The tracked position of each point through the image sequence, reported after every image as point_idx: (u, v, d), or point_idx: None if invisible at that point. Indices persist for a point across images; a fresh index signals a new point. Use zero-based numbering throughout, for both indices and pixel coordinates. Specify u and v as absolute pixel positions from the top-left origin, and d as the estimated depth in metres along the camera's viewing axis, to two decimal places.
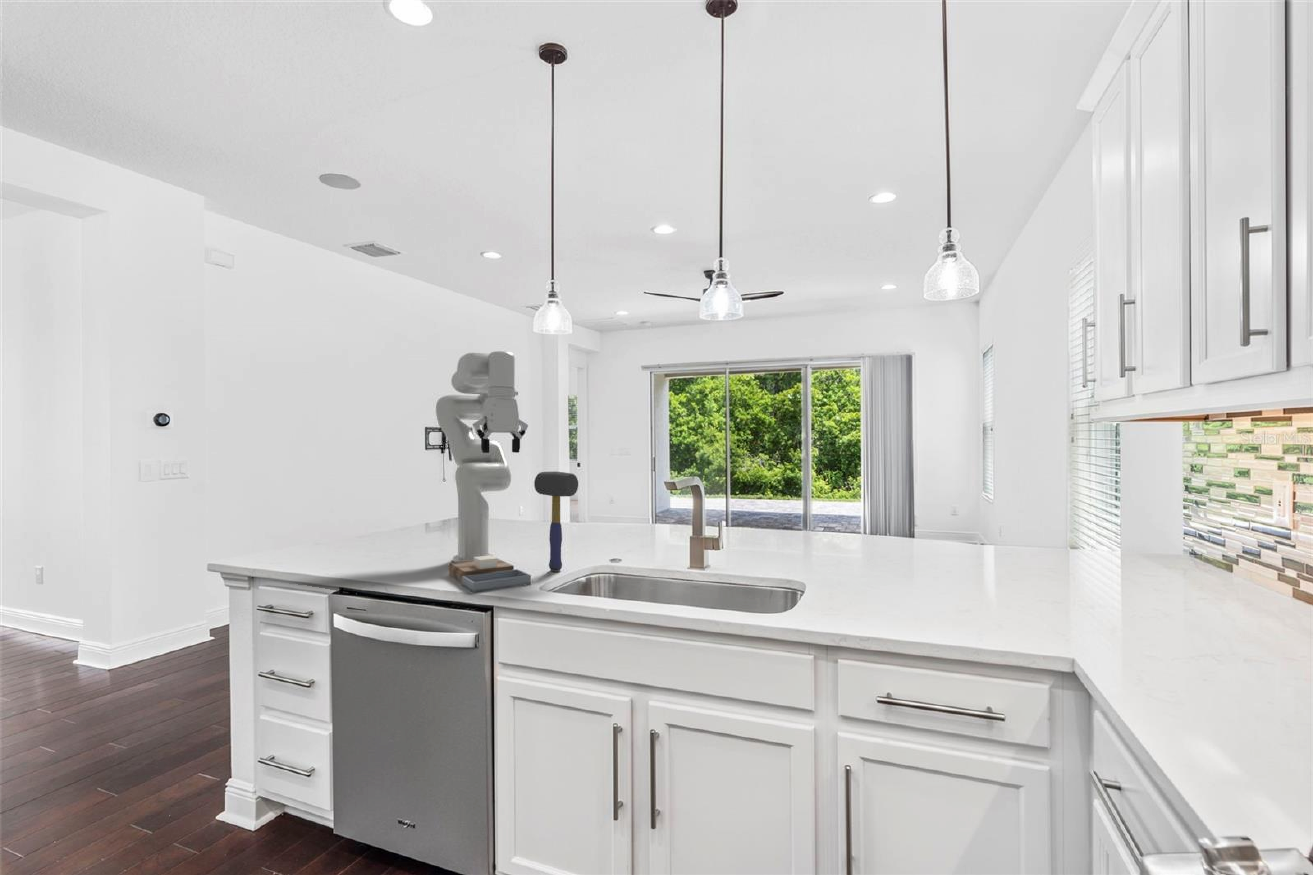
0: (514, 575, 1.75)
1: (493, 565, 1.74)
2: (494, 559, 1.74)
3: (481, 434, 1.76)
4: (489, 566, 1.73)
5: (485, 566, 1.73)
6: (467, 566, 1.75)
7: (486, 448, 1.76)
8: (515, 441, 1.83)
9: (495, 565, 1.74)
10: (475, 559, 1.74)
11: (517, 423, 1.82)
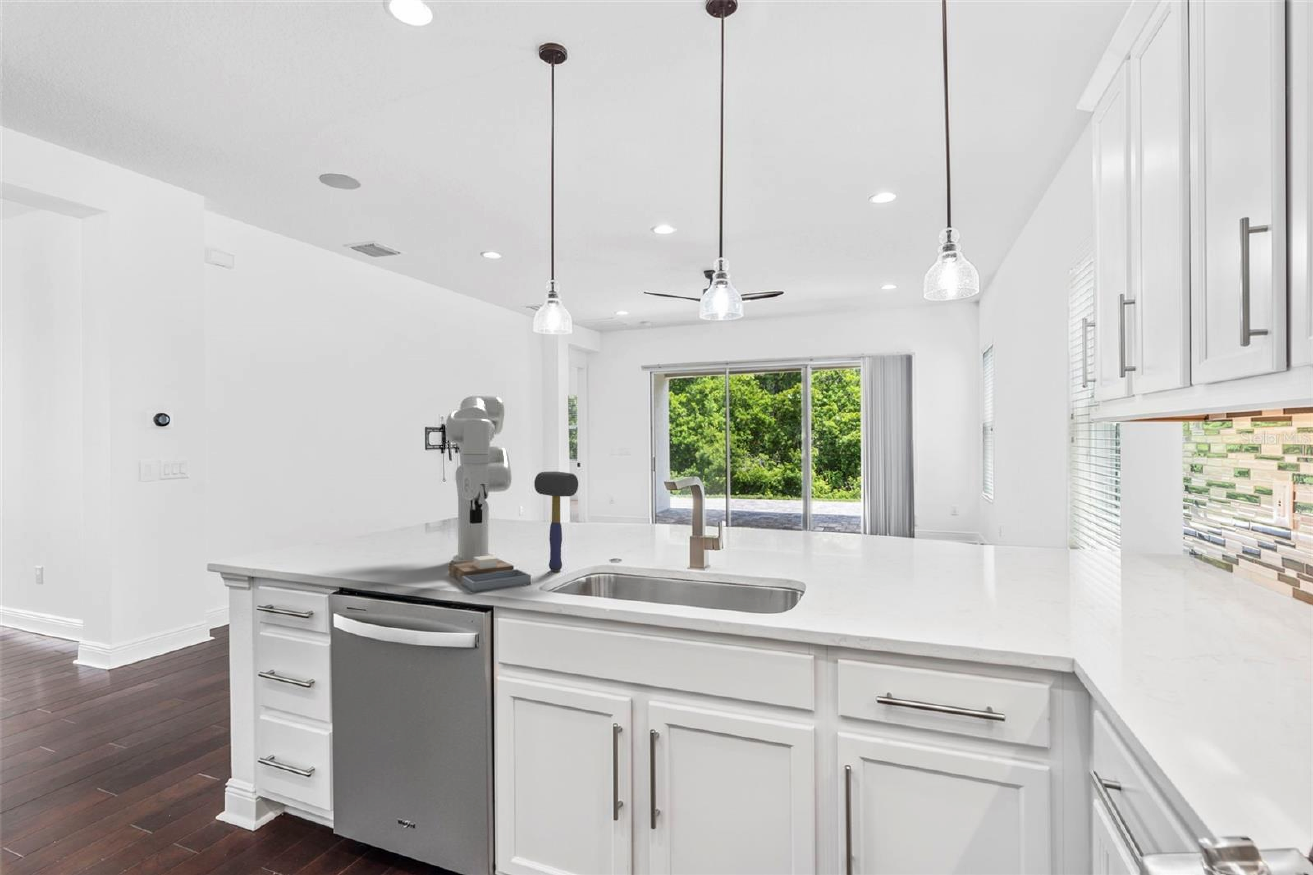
0: (514, 575, 1.75)
1: (493, 565, 1.74)
2: (494, 559, 1.74)
3: None
4: (489, 566, 1.73)
5: (485, 566, 1.73)
6: (467, 566, 1.75)
7: (480, 518, 1.81)
8: None
9: (495, 565, 1.74)
10: (475, 559, 1.74)
11: None
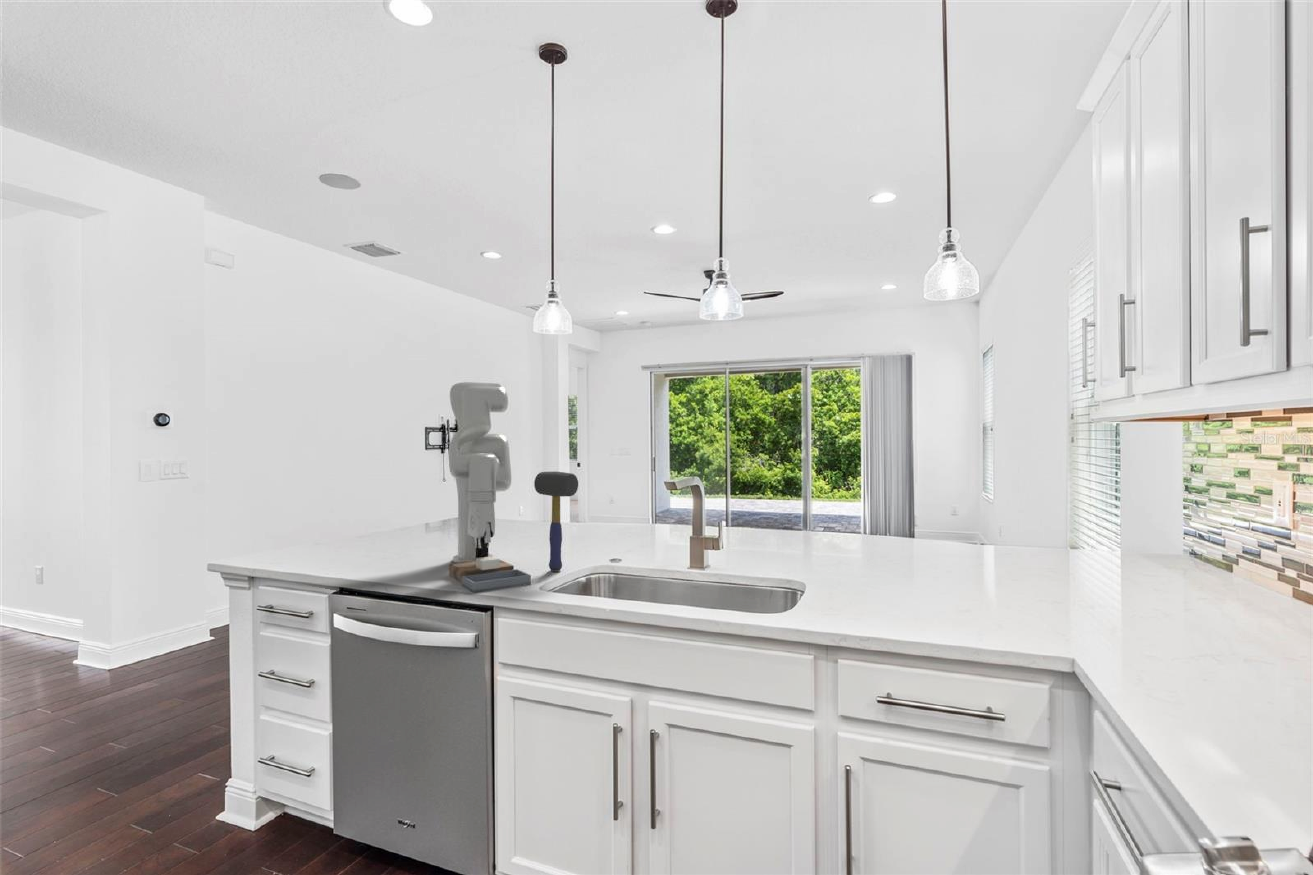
0: (514, 575, 1.75)
1: (495, 566, 1.73)
2: (496, 560, 1.73)
3: None
4: (491, 567, 1.72)
5: (487, 567, 1.71)
6: (467, 566, 1.75)
7: (486, 556, 1.77)
8: None
9: (497, 566, 1.73)
10: (477, 560, 1.73)
11: None
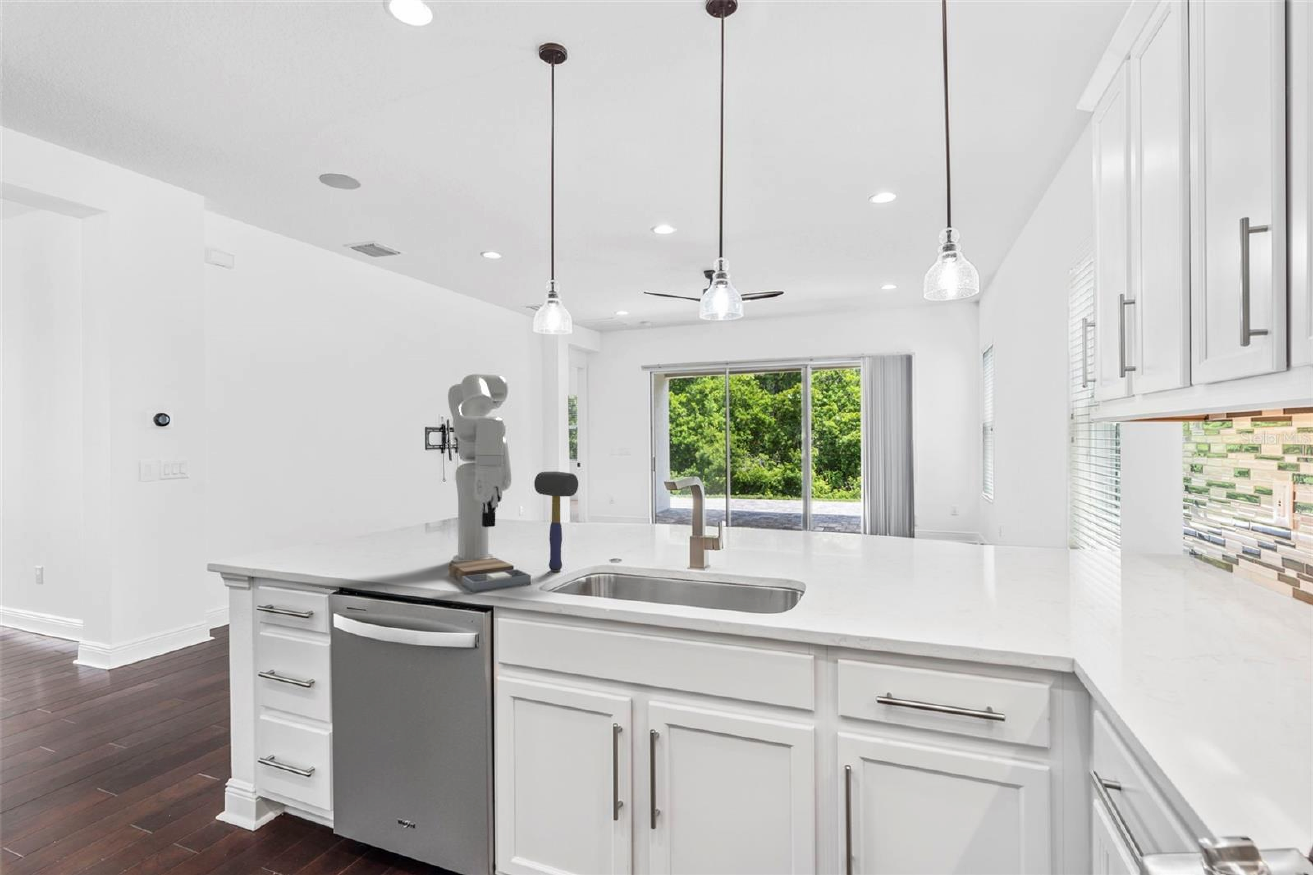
0: (514, 575, 1.75)
1: None
2: None
3: None
4: None
5: None
6: (467, 566, 1.75)
7: (493, 521, 1.74)
8: None
9: None
10: None
11: None
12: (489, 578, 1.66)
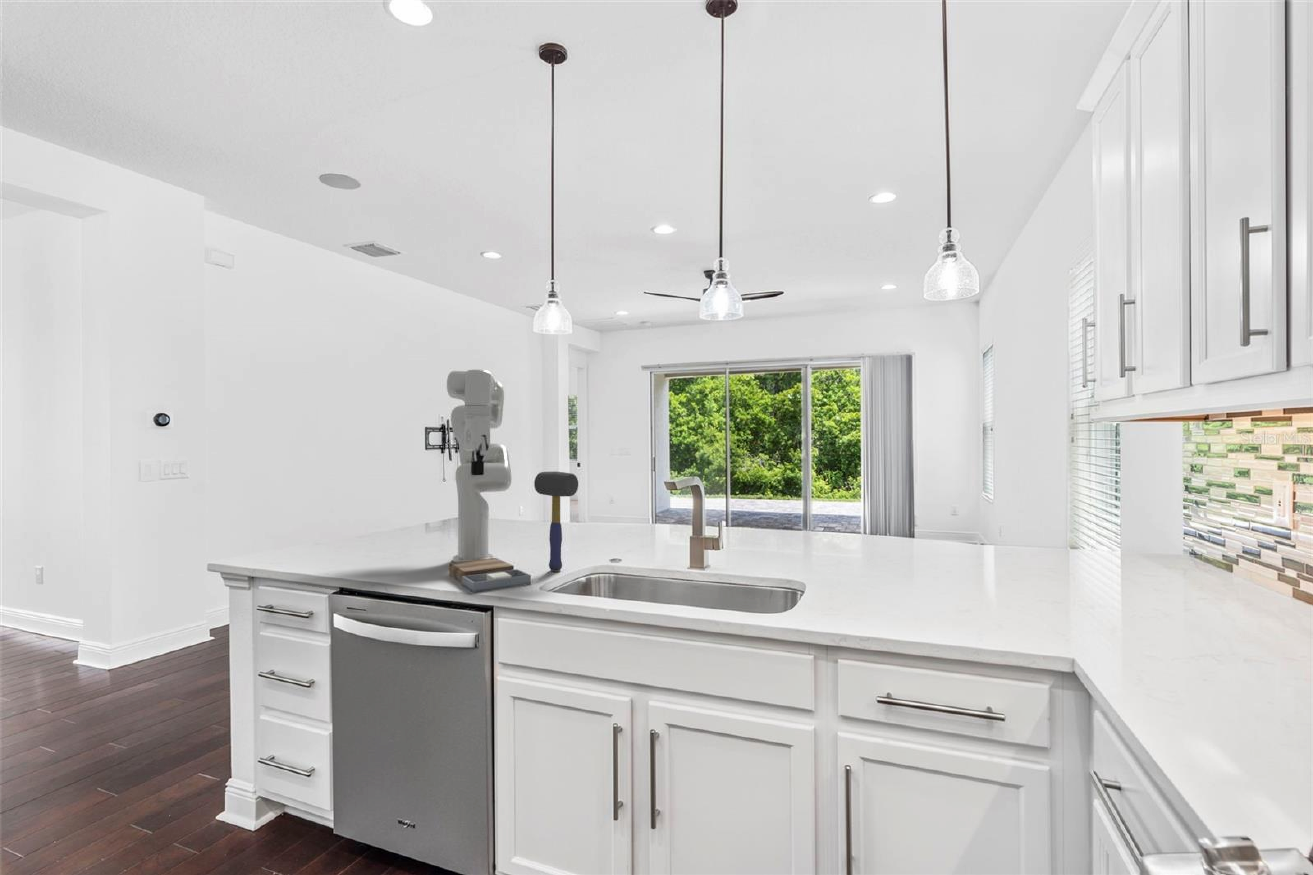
0: (514, 575, 1.75)
1: None
2: None
3: None
4: None
5: None
6: (467, 566, 1.75)
7: (482, 470, 1.81)
8: None
9: None
10: None
11: None
12: (489, 578, 1.66)
